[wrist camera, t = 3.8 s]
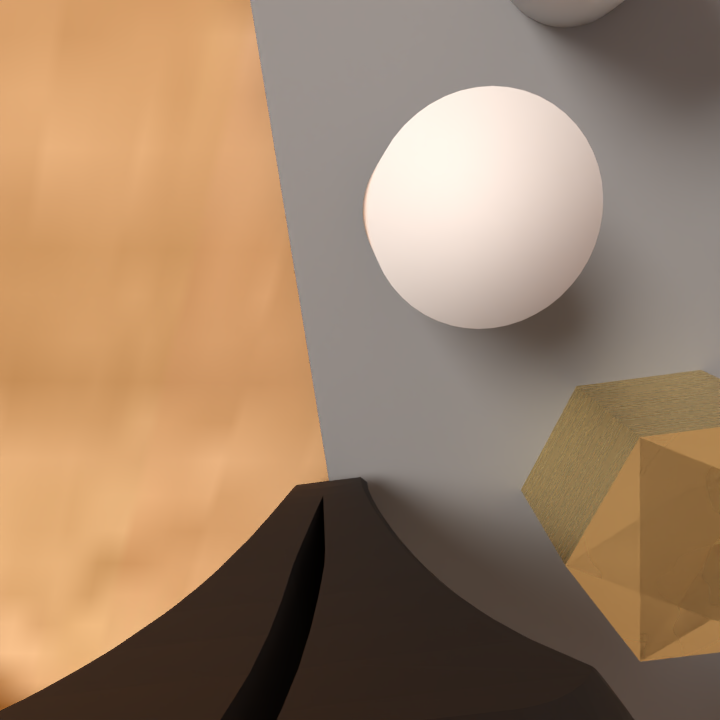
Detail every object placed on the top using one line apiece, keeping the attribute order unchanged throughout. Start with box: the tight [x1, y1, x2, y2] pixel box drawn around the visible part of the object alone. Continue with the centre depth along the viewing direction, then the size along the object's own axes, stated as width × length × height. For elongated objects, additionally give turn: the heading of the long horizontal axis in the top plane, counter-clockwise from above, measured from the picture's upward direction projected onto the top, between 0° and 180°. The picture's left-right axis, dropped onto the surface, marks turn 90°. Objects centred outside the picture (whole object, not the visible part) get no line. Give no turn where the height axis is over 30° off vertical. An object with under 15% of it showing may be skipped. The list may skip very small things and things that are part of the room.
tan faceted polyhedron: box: [521, 370, 720, 662], centre depth 10 cm, size 5×4×2 cm
